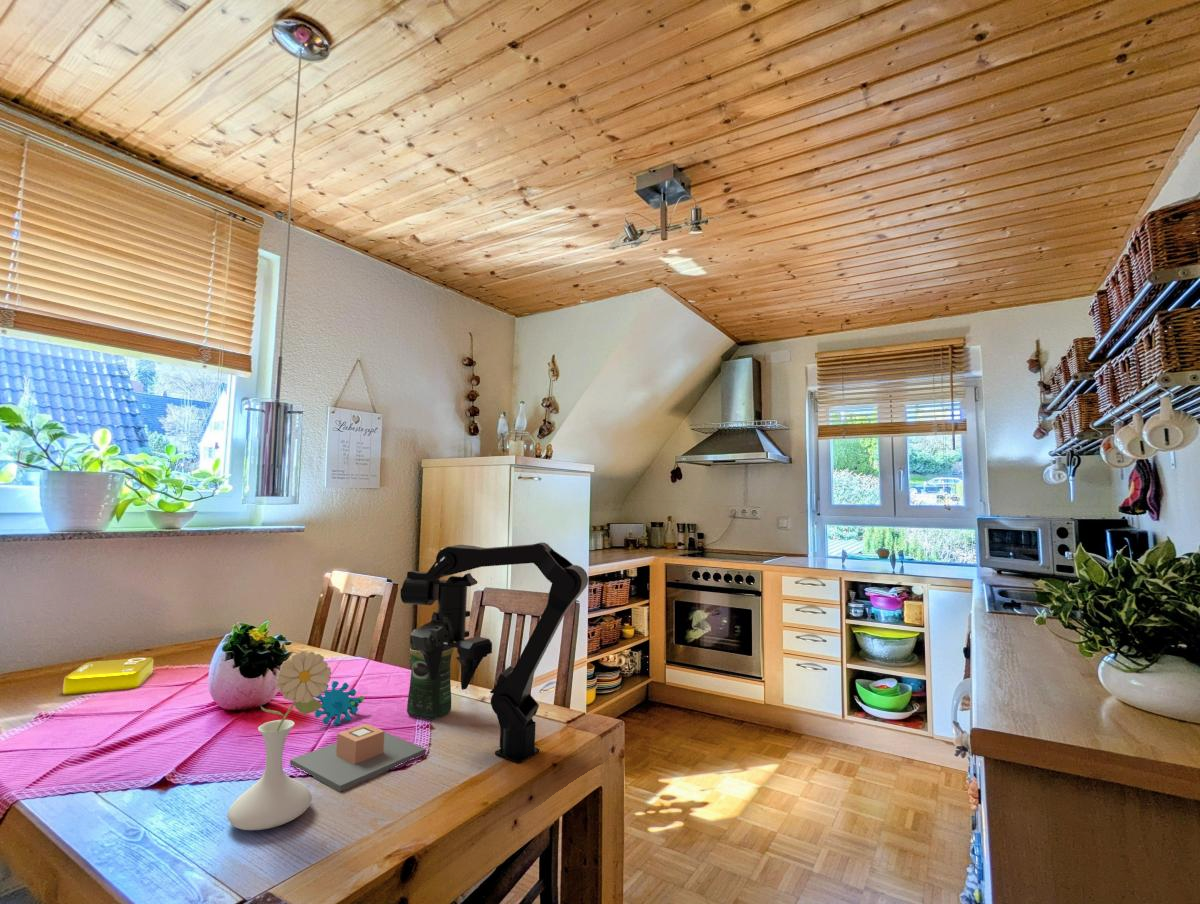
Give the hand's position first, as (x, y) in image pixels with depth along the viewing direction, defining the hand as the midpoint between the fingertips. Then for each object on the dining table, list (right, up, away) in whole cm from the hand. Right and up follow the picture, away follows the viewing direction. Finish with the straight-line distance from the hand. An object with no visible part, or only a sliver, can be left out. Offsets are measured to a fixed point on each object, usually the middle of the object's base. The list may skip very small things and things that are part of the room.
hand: (448, 684), depth 117 cm
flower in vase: (-20, -10, -28) cm, 35 cm away
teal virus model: (-28, -12, +11) cm, 32 cm away
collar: (-15, -10, -8) cm, 20 cm away
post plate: (-15, -11, -8) cm, 20 cm away
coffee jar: (-9, -13, +15) cm, 22 cm away
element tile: (-95, -12, +30) cm, 100 cm away
